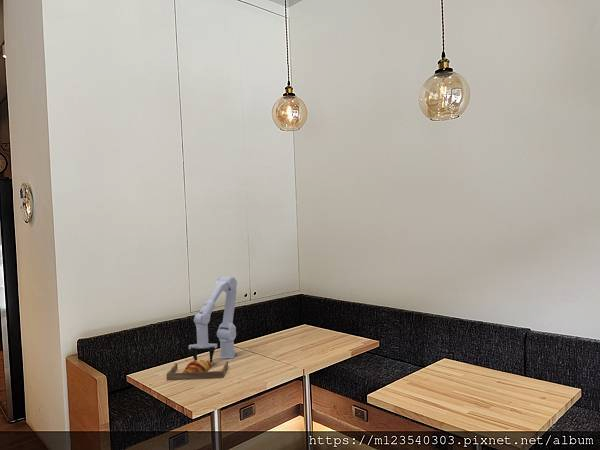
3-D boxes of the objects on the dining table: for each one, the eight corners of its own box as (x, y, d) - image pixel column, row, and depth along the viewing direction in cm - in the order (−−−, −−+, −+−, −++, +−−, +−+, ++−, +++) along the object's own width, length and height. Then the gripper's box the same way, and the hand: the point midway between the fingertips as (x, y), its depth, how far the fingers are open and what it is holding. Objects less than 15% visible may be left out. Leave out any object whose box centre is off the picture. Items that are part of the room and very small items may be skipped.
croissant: (208, 372, 233) (202, 358, 235) (221, 365, 228) (215, 351, 230) (178, 385, 214) (172, 369, 216) (192, 378, 210) (185, 362, 212)
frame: (176, 369, 227) (175, 363, 227) (228, 366, 227) (228, 361, 227) (166, 380, 212) (166, 374, 212) (222, 377, 212) (222, 371, 212)
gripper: (186, 338, 227) (187, 365, 227) (214, 337, 227) (216, 364, 227) (190, 335, 234) (191, 361, 234) (217, 334, 234) (218, 359, 234)
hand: (203, 362), depth 231 cm, fingers open, 7 cm apart
